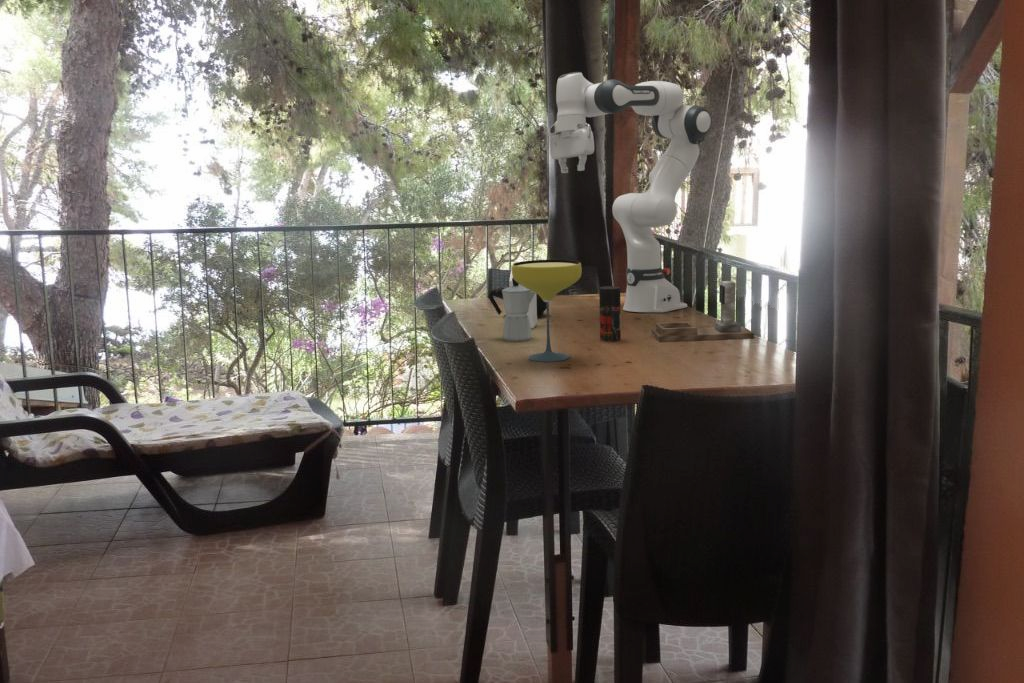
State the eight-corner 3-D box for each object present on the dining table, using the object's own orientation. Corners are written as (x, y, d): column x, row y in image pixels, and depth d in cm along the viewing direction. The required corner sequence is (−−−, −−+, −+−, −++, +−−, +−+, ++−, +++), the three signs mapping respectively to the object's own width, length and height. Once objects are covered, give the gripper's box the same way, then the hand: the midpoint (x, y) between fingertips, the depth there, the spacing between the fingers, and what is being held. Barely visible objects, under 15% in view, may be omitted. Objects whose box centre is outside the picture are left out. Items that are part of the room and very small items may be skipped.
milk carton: (533, 329, 297) (531, 267, 294) (510, 328, 299) (508, 267, 295) (537, 325, 304) (535, 264, 301) (515, 324, 306) (513, 265, 302)
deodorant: (598, 338, 280) (597, 286, 277) (618, 337, 280) (618, 285, 278) (601, 341, 274) (601, 289, 271) (622, 341, 275) (622, 288, 272)
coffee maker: (542, 336, 285) (541, 275, 281) (533, 342, 277) (531, 279, 273) (495, 334, 290) (493, 275, 286) (484, 340, 281) (482, 279, 278)
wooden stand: (658, 341, 272) (658, 287, 269) (651, 334, 283) (651, 282, 280) (753, 338, 273) (754, 283, 270) (743, 331, 284) (743, 278, 281)
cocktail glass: (587, 363, 247) (586, 265, 242) (517, 366, 245) (514, 268, 241) (577, 349, 264) (576, 258, 260) (511, 352, 263) (509, 260, 258)
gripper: (598, 122, 289) (600, 169, 291) (563, 130, 307) (564, 174, 309) (581, 121, 286) (582, 169, 288) (546, 129, 304) (547, 174, 306)
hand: (572, 171), depth 299 cm, fingers open, 8 cm apart
